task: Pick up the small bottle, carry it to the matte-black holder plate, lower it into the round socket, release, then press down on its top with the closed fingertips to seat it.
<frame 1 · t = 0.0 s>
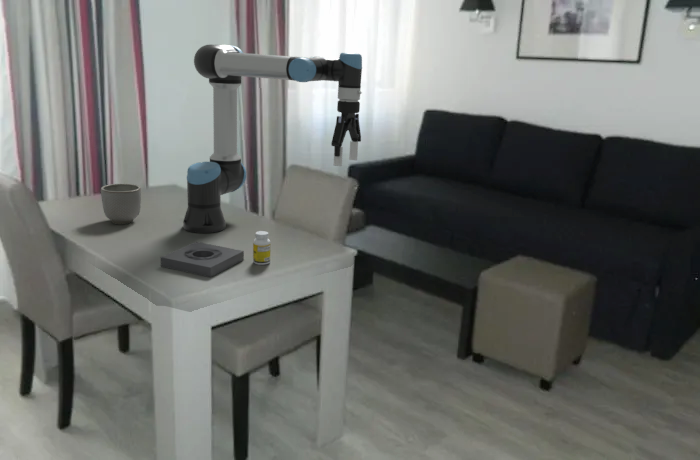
hand: (345, 162, 222), 28 cm above the table, fingers open, 13 cm apart
planter: (122, 222, 237), on the table
supplement bottle: (261, 263, 203), on the table
holder plate: (203, 263, 200), on the table
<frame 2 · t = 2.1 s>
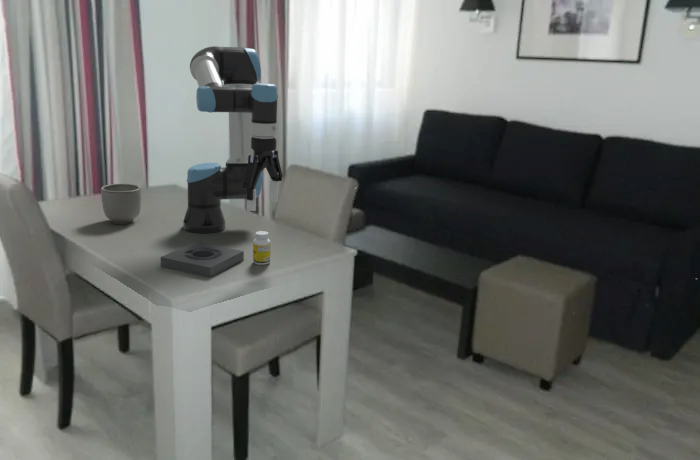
hand: (262, 205, 198), 18 cm above the table, fingers open, 13 cm apart
nothing on the table moved.
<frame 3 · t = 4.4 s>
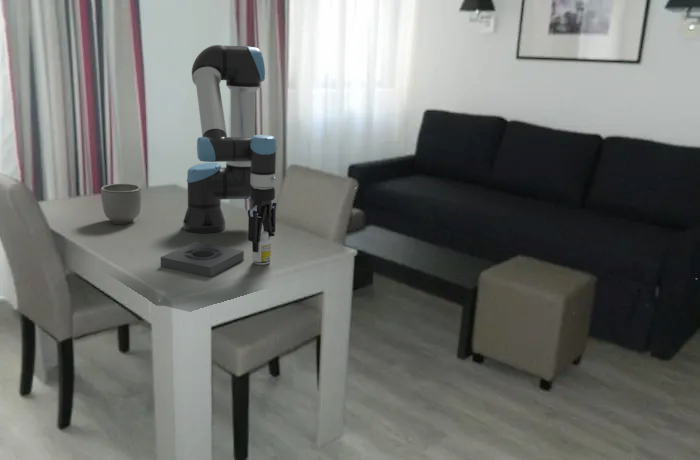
hand: (261, 258, 203), 1 cm above the table, fingers closed on supplement bottle, 5 cm apart
supplement bottle: (261, 262, 203), on the table, touching gripper
everything else where it was.
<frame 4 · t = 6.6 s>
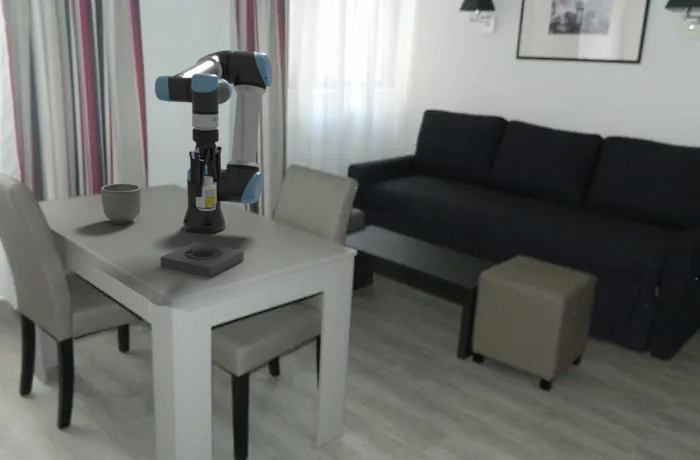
hand: (206, 204, 195), 19 cm above the table, fingers closed on supplement bottle, 5 cm apart
supplement bottle: (206, 209, 195), point 17 cm above the table, touching gripper
everything else where it was.
when the fingers open (4 cm above the table, at t = 8.8 s): supplement bottle drops 2 cm, resting in holder plate.
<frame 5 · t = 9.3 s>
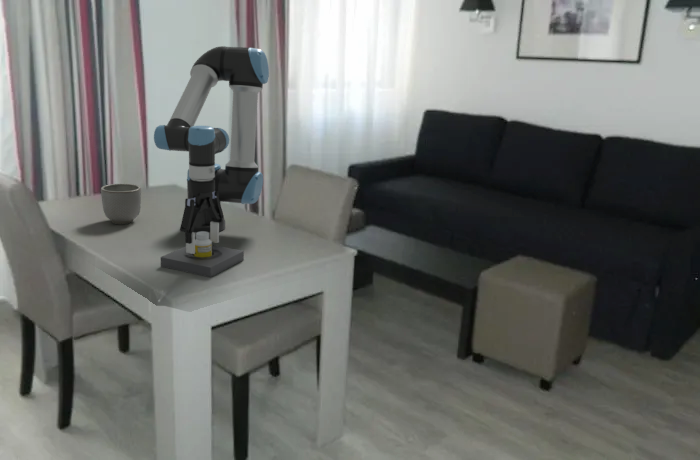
hand: (203, 247, 198), 5 cm above the table, fingers open, 12 cm apart
supplement bottle: (203, 263, 200), resting in holder plate
everything else where it was.
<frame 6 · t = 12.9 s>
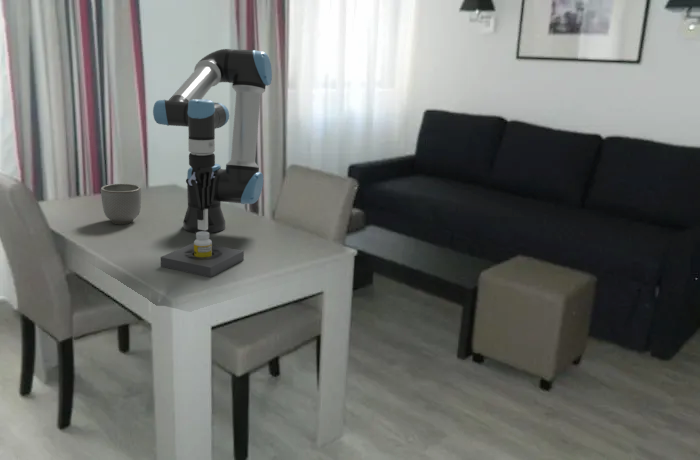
hand: (202, 229, 197), 11 cm above the table, fingers closed
nothing on the table moved.
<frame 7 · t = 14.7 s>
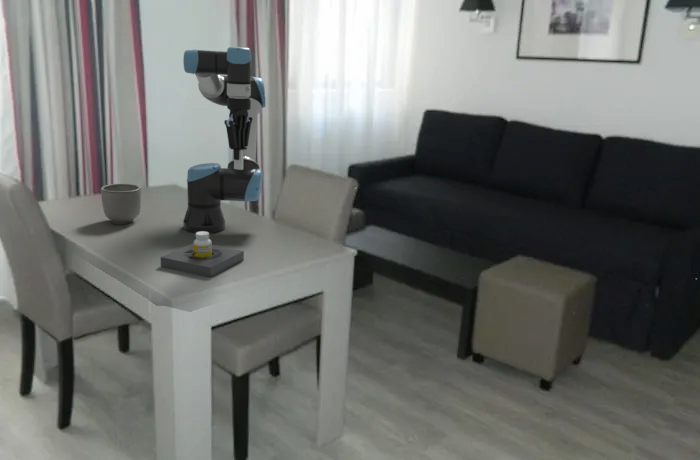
hand: (238, 168, 214), 26 cm above the table, fingers closed
nothing on the table moved.
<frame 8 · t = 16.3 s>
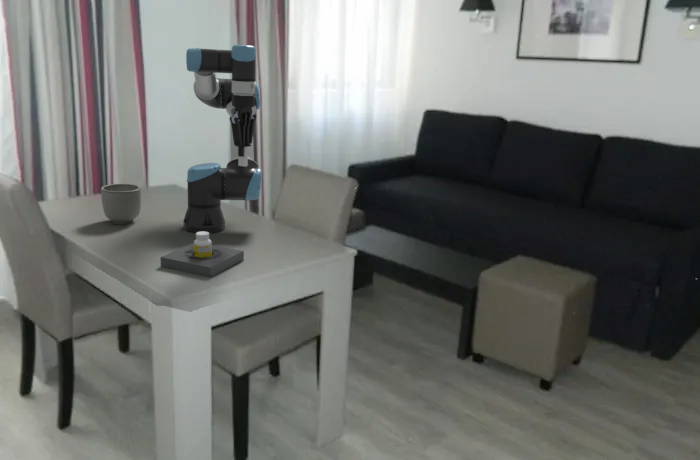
hand: (243, 165, 216), 26 cm above the table, fingers closed
nothing on the table moved.
at the end: supplement bottle 0.1 cm off-centre in the holder plate, point 0.0 cm above the holder plate's base; supplement bottle tilted 0°; the gripper is holding nothing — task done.
